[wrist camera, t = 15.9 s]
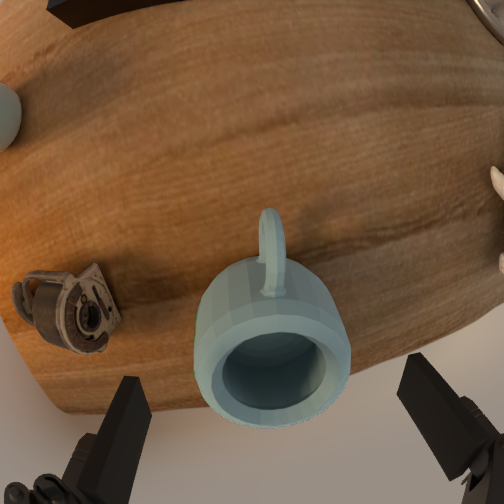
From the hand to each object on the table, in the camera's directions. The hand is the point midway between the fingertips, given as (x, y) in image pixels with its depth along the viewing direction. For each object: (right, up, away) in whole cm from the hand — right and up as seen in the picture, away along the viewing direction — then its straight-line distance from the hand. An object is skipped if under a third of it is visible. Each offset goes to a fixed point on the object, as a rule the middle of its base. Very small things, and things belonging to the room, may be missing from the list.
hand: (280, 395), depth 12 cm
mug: (0, +4, +12) cm, 13 cm away
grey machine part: (-19, +3, +12) cm, 23 cm away
